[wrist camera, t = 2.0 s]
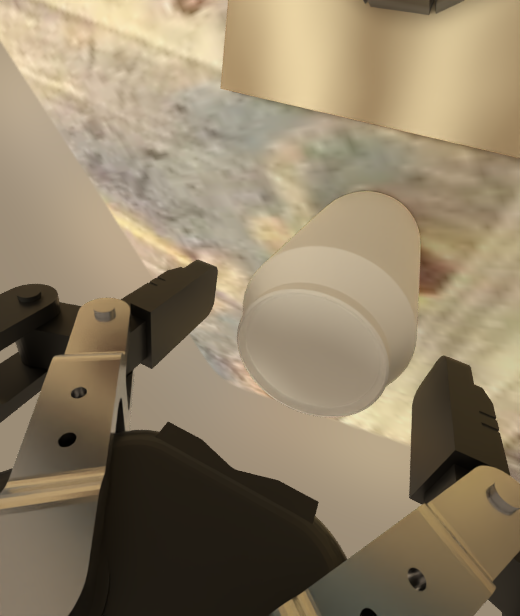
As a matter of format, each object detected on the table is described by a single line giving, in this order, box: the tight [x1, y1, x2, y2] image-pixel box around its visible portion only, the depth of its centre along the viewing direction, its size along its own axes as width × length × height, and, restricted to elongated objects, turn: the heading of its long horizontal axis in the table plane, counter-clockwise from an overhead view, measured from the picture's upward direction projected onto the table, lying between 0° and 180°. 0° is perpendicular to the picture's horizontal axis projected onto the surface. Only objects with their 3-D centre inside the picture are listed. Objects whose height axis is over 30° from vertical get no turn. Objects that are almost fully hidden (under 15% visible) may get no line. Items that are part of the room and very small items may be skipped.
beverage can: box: [237, 191, 421, 417], centre depth 15 cm, size 6×6×12 cm
